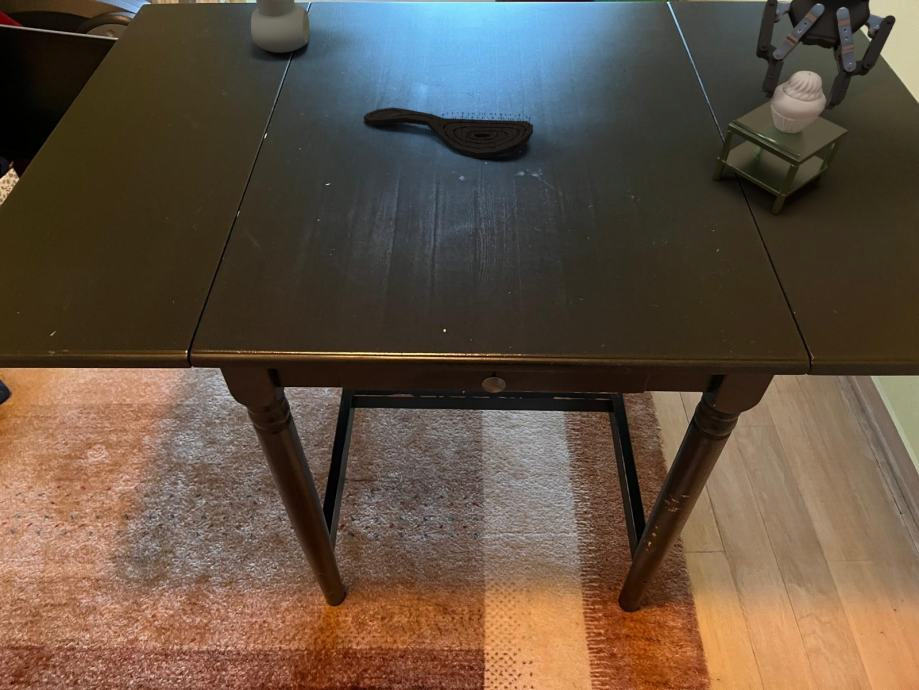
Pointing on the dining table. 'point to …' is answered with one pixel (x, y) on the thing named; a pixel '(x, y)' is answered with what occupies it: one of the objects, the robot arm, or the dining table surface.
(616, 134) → the dining table surface
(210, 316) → the dining table surface
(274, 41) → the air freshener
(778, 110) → the muffin
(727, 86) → the dining table surface
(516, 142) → the hairbrush
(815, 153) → the side table
